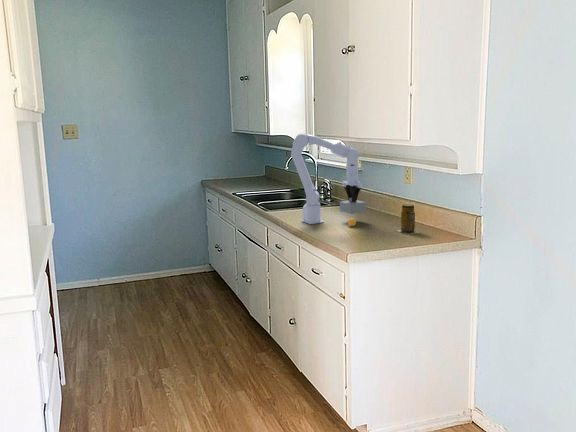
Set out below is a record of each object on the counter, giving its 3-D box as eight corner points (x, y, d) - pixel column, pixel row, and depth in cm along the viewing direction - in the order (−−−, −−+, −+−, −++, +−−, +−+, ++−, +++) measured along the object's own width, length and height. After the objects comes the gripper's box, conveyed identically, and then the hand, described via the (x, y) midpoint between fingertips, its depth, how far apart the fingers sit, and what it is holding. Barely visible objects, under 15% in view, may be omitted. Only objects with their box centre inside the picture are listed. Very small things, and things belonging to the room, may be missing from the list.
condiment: (411, 229, 258) (411, 203, 256) (420, 233, 250) (420, 206, 248) (396, 230, 256) (396, 204, 254) (405, 234, 248) (405, 207, 246)
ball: (345, 226, 269) (345, 218, 268) (352, 225, 271) (352, 217, 270) (350, 227, 266) (350, 219, 265) (357, 226, 268) (357, 218, 267)
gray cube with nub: (340, 211, 280) (339, 197, 279) (354, 209, 285) (354, 195, 283) (350, 213, 273) (350, 199, 271) (365, 211, 277) (365, 198, 276)
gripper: (368, 173, 271) (368, 202, 273) (350, 171, 283) (350, 198, 286) (356, 175, 267) (356, 203, 270) (338, 172, 280) (339, 199, 282)
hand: (352, 201), depth 278 cm, fingers closed on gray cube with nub, 2 cm apart
